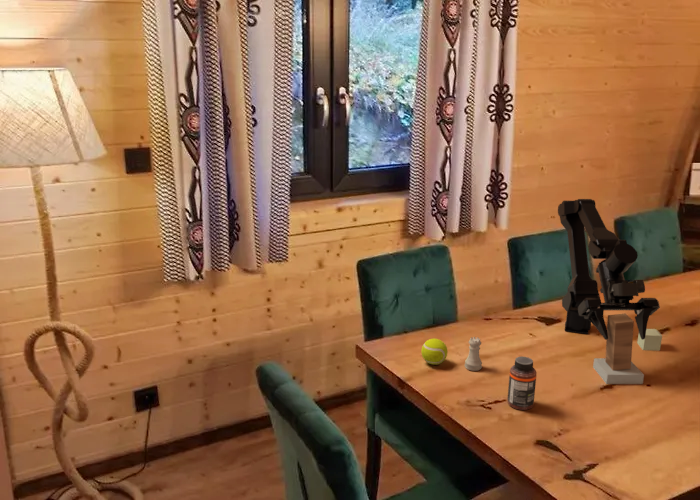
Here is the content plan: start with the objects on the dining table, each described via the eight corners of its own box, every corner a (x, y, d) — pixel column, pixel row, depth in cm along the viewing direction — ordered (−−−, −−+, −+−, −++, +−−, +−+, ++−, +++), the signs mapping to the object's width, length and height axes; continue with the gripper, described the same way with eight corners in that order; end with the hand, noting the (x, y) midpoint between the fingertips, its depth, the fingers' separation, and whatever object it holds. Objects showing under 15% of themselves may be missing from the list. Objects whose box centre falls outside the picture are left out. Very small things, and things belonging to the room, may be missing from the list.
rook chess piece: (481, 372, 172) (484, 343, 170) (463, 370, 173) (465, 341, 171) (482, 364, 176) (484, 336, 174) (464, 362, 177) (466, 334, 175)
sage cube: (642, 350, 186) (645, 335, 185) (637, 343, 190) (639, 328, 189) (659, 350, 186) (662, 335, 184) (653, 343, 190) (656, 329, 189)
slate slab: (592, 368, 176) (594, 358, 175) (627, 369, 176) (628, 358, 175) (606, 385, 167) (607, 374, 166) (642, 385, 168) (644, 374, 167)
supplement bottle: (512, 395, 161) (516, 351, 158) (537, 402, 158) (541, 358, 155) (502, 405, 156) (506, 361, 153) (527, 413, 153) (532, 368, 150)
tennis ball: (424, 370, 173) (425, 345, 171) (418, 358, 179) (419, 334, 177) (449, 368, 174) (451, 344, 172) (442, 357, 180) (444, 333, 178)
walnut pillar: (605, 361, 173) (607, 315, 168) (622, 359, 173) (625, 313, 169) (612, 370, 169) (615, 323, 164) (630, 368, 169) (633, 321, 164)
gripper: (587, 267, 167) (599, 327, 160) (662, 267, 168) (677, 326, 160) (572, 286, 177) (583, 343, 169) (643, 286, 178) (656, 343, 170)
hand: (625, 339), depth 167 cm, fingers open, 9 cm apart
